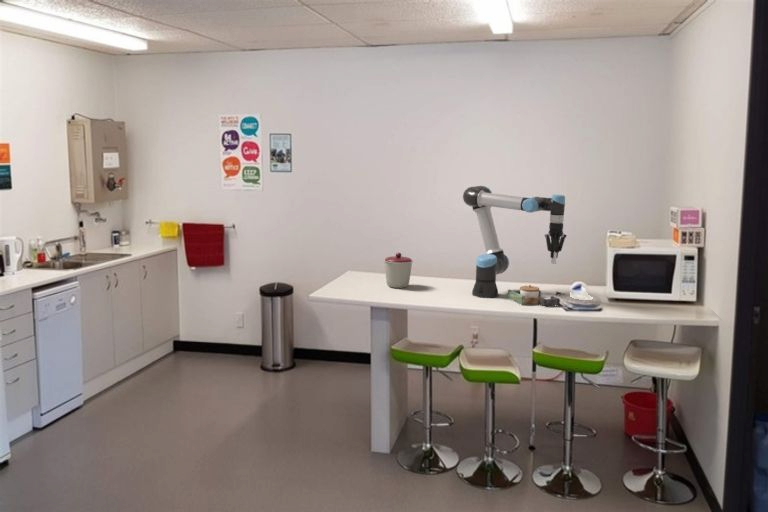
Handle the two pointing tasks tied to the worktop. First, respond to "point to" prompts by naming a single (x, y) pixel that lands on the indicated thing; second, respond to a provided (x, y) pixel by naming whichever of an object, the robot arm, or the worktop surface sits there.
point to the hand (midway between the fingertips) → (553, 263)
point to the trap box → (532, 299)
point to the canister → (398, 271)
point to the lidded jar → (529, 291)
